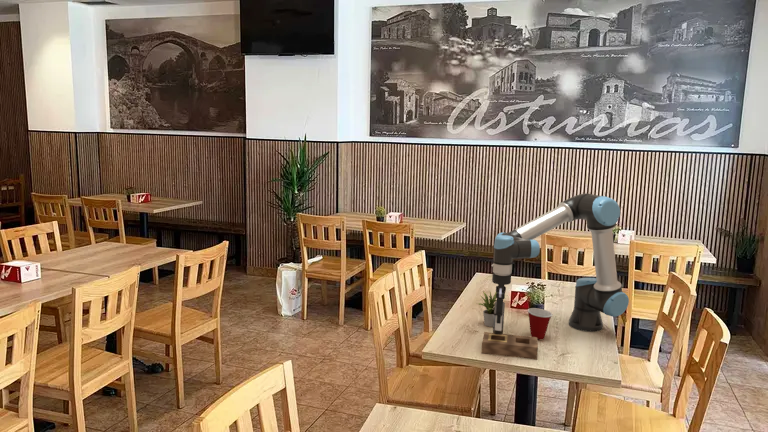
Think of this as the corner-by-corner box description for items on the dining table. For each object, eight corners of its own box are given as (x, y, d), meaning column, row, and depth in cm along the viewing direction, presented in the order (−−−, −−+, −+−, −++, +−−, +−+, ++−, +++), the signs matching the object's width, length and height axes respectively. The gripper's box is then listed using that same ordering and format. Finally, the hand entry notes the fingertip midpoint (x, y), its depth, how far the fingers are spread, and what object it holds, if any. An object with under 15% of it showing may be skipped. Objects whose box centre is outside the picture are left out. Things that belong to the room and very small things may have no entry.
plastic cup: (551, 343, 260) (553, 316, 258) (526, 340, 262) (527, 314, 260) (550, 334, 270) (552, 308, 268) (525, 332, 272) (527, 306, 270)
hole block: (536, 348, 253) (537, 336, 252) (537, 359, 241) (537, 347, 240) (483, 342, 257) (484, 331, 257) (481, 353, 246) (482, 341, 245)
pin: (503, 331, 251) (505, 301, 248) (502, 335, 247) (504, 304, 245) (493, 330, 251) (495, 300, 249) (492, 334, 248) (494, 303, 246)
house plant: (506, 332, 271) (508, 297, 268) (475, 329, 273) (477, 294, 271) (506, 322, 285) (508, 288, 282) (476, 319, 287) (478, 286, 285)
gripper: (493, 267, 254) (490, 320, 258) (491, 277, 238) (487, 334, 241) (511, 269, 252) (508, 322, 256) (510, 279, 236) (506, 336, 240)
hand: (498, 328), depth 249 cm, fingers closed on pin, 4 cm apart
